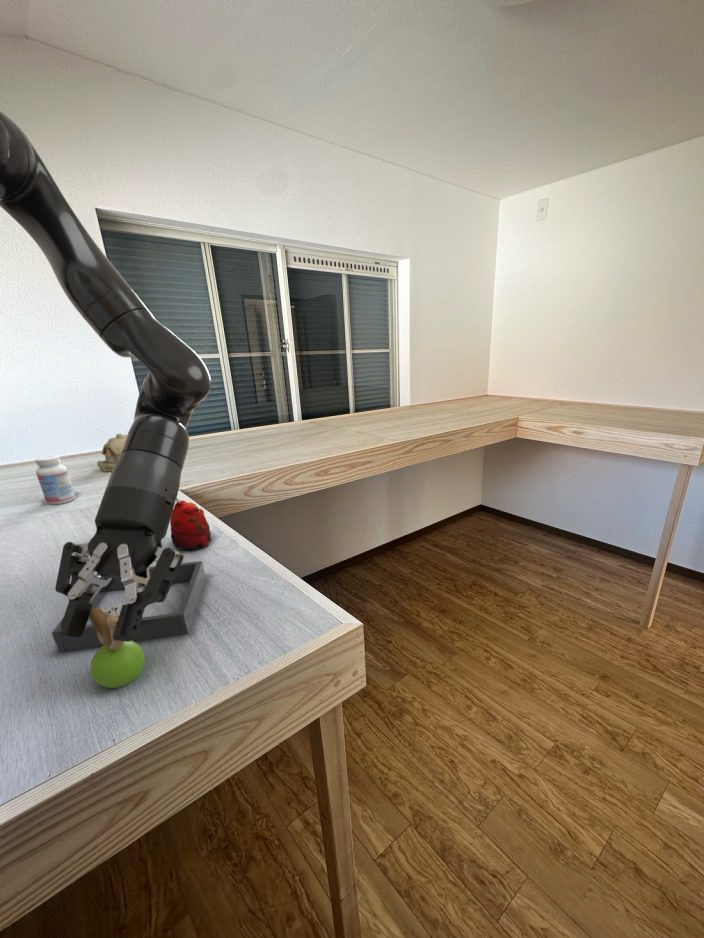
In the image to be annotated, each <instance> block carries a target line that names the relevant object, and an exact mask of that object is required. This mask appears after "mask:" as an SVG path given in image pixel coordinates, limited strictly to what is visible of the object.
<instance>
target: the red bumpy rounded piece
mask: <svg viewBox="0 0 704 938" xmlns="http://www.w3.org/2000/svg"><path fill="white" fill-rule="evenodd" d="M169 525H170V538H171V541H172V544H173V546H174V547H175V548H176V549H181V550H188V551H193V550H198V549H200V548H206V547H208V546H209V544H210V542H211V541H212V533H211V530H210V524H209V523H208V521H207V518H206V516H205V512H204V510H203V509H202V508H199V507H198V505H197V504H196V503H194V502H192V501H191V502H188V501H186V500H178V497H177V498H176V501H175V505H174V508H173V512H172V515H171V519H170V522H169Z"/></svg>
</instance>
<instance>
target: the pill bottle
mask: <svg viewBox="0 0 704 938" xmlns="http://www.w3.org/2000/svg"><path fill="white" fill-rule="evenodd" d="M34 460H35V463H36V465H37V466H38V467H37V468H36V470H35V474H36V477H37V480H38V483H39V486H40V488H41V492H42V494H43V497H44V500H45V502H46V504H48V505H62V504H67V503H69V502H71V501H73V500H75V499H76V497H77V496H76V493H75V490H74V487H73V483H72V481H71V478H70V474H69V471H68V468H67V467H66V466H65V464H62V463H61V458H60V456H59V455H57V454H50V455H41V456H39V457H36V458H35V459H34Z"/></svg>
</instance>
